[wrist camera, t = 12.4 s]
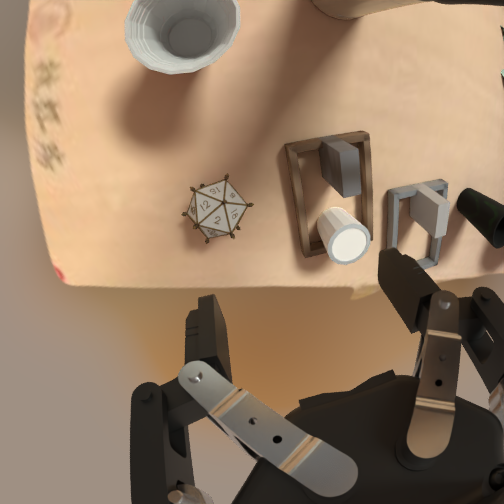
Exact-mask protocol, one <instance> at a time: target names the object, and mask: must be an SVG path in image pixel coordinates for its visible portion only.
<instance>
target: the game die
mask: <svg viewBox="0 0 504 504" xmlns="http://www.w3.org/2000/svg"><path fill="white" fill-rule="evenodd" d="M228 177H229V175H228V173H227V174H226V175H225V179H224V180H221V181H219V182H216V183H213V184H210V185H207V186H205V185H204V184H201V185H200V186H201V188H199V189H197V190H195V188H194V187H190V189H191V191H193V192H194V193H193V196H192V199H191V202H190V205H189V209H188V212H187V213H186V212H183V213H182V214H181V215H182V216H186V215H188V216H189V218H190V219H191V220H192V221H193V222H194V223H195V225H194V226H193V229H197V228H199V229H200V230H201V232H202V233H203V234H204V235H205V236H206V237H207V239H206V241H205V242H206V244H207V243H208V242H209V238H214V237H219V236H224V235H229V234H230V236H231V238H233V239H235V235H234V234H233V231H234V230H235V228H236V229H237V230H240V227H239V226H237V225H238V224H239V222H240V220H241V218H242V216H243V214H244V212H245V210H246V209H247V207H252V206H253V205H254V204H253V203H249V204H247V203H246V202H245V201H244V199H243V198H242V197H241V196H240V195H239V194H238V192H237V191H236V190H235V189H234V188H233V187H232V185H231V184H230V183H229V182H228V181H227V179H228Z"/></svg>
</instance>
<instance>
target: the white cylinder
mask: <svg viewBox="0 0 504 504" xmlns="http://www.w3.org/2000/svg"><path fill="white" fill-rule="evenodd" d="M317 230H318V232H319V235H320V237H321V239H322V241H323V244H324V246H325V248H326V251H327V253H328V255H329V257H330V258H331V260H332V261H334V262H336V263H337V264H344V265H347V264H350V263H354V262H355V261H357V260H359V259H360V258H362V256H363V255H364V254H365V253H366V252H367V250H368V248H369V245H370V234H369V231H368V229H367V228H366V227H364V226H363V225H362V224H361V223H360V222H359V221H357V220H356V219H355V218H354V217H353V216H351V215H350V214H349V213H348V212H346V211H345V210H344V209H342V208H340V207H331V208H328V209H326V210H325V211H323V212H322V214H321V215H320V216H319V217H318V221H317Z"/></svg>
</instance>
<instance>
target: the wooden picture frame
mask: <svg viewBox="0 0 504 504" xmlns="http://www.w3.org/2000/svg"><path fill="white" fill-rule="evenodd" d="M355 142H358V148H359V150H358V148H356V147H354V146H352V145H351V144H349V143H355ZM285 149H286V154H287V160H288V166H289V172H290V178H291V183H292V190H293V196H294V202H295V208H296V215H297V221H298V228H299V235H300V242H301V249H302V253H303V255H304V257H305V258H308V257H312V256H315V255H319V254H323V253H327V251H326V248H325V246H324V244H323V241H320V242H316V243H312V244H310V243H309V234H308V227H307V219H306V212H305V204H304V197H303V190H302V184H301V177H300V171H299V164H298V158H297V153H300V152H305V151H310V150H315V149H319V154H320V162H321V170H322V177H323V178H324V179H325V180H326V181H327V182H328V183H329V184H330V185H331V186H332V187H333V188H334V189H335V190H336V191H337V192H338V193H339V194H340V195H341V196H342V197H343V198H346V197H351V196H355V195H360V194H361V193H362V224H363V226H364V227H366V228H367V229H368V231H369V234H370V241H372V240H373V188H372V165H371V149H370V136H369V133H367V132H365V131H357V132H350V133H344V134H338V135H331V136H326V137H320V138H314V139H309V140H303V141H298V142H293V143H288V144H285ZM359 160H360V163H359ZM360 175H361V178H360Z"/></svg>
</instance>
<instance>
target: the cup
mask: <svg viewBox="0 0 504 504" xmlns="http://www.w3.org/2000/svg"><path fill="white" fill-rule="evenodd" d="M457 209H458V211H459V212H460V213H461V214H462V215H463V216H464V217H465V218H466V219H467V220H468V221H469V222H470V223H471V224H472V225H473V226H474V227H475V228H476V229H477V230H478V231H479V232H480V233H481V234H482V235H483V236H484V237H485V238H486V239H487V240H488V241H489V242H490V243H491V244H492V245H493V247H495V248H501V247H503V246H504V205H502V204H500V203H498V202H497V201H495V200H493V199H491V198H489V197H487V196H485V195H483V194H481V193H479V192H477V191H475V190H473V189H471V188H466V189H465V190H463V191H462V192H461V194H460V195H459V198H458V201H457Z"/></svg>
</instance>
